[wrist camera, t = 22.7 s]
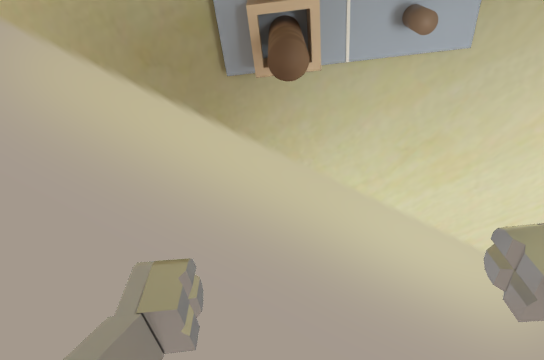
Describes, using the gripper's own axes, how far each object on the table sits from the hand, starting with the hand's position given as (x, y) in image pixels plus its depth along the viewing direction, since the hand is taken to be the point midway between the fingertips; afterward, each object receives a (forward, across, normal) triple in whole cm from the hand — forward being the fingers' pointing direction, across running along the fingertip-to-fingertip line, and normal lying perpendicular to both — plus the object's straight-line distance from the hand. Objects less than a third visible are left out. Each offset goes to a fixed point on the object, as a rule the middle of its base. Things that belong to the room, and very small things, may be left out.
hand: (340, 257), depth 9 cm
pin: (+28, 0, 0) cm, 28 cm away
